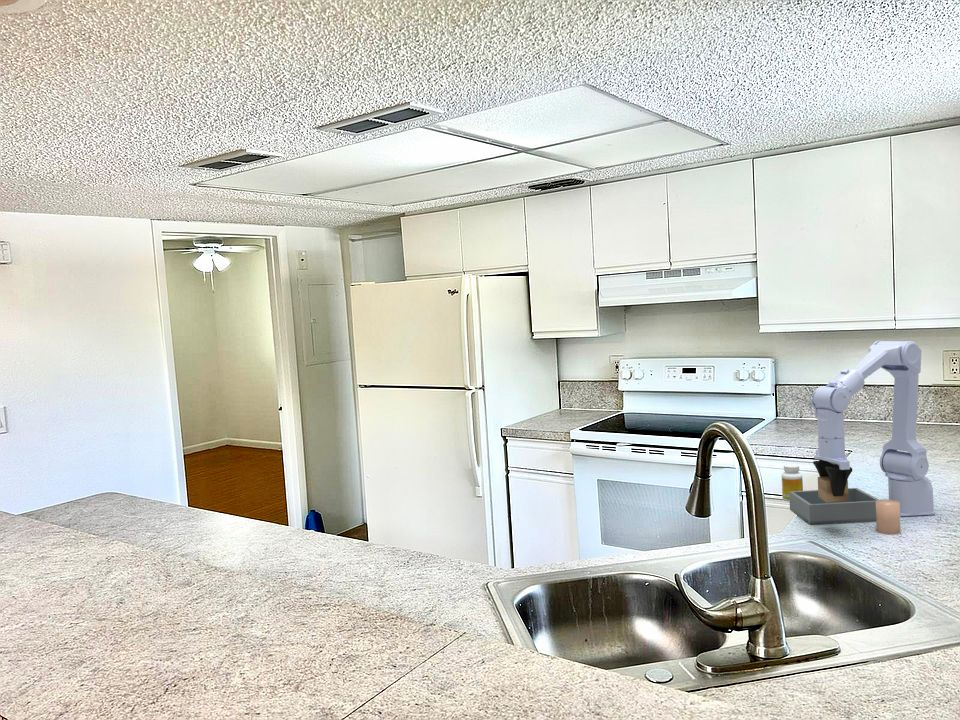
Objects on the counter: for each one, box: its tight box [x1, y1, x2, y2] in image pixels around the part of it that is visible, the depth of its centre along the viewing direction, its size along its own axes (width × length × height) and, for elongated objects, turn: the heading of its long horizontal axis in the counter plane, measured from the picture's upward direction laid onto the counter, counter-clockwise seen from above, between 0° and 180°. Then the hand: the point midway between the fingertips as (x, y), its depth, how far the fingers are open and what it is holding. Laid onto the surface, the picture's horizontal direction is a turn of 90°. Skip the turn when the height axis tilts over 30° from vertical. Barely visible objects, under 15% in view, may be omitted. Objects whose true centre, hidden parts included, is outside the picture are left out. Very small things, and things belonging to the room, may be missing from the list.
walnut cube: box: [817, 476, 849, 503], centre depth 180 cm, size 5×5×5 cm
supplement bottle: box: [781, 463, 804, 503], centre depth 210 cm, size 5×5×10 cm
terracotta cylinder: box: [875, 498, 901, 535], centre depth 179 cm, size 5×5×7 cm
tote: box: [789, 487, 880, 526], centre depth 193 cm, size 18×14×5 cm
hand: (833, 492), depth 181 cm, fingers closed on walnut cube, 5 cm apart
